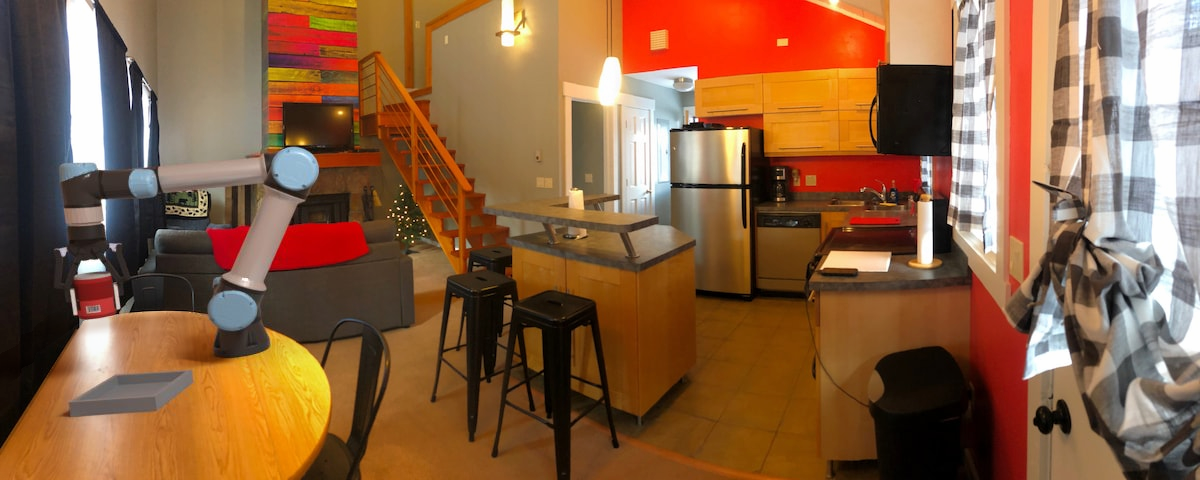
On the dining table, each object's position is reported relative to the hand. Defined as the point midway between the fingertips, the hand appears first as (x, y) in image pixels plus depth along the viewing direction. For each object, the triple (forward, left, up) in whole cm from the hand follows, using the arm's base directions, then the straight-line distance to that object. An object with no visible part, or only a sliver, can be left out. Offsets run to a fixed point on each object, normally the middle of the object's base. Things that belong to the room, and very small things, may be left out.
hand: (97, 310), depth 162 cm
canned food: (0, 0, -2) cm, 2 cm away
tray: (-14, +14, -19) cm, 28 cm away
